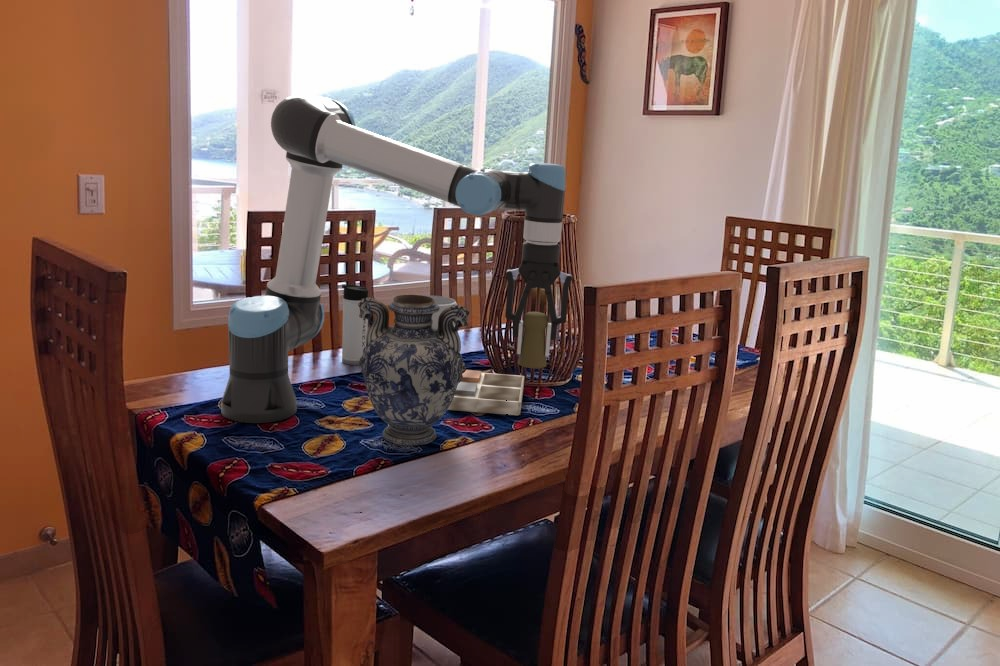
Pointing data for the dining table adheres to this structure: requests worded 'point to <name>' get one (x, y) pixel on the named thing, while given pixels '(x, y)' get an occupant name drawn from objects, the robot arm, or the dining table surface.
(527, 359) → the cork
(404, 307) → the decorative vase
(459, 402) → the socket board
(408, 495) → the dining table surface
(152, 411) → the dining table surface
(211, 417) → the dining table surface
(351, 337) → the travel mug
